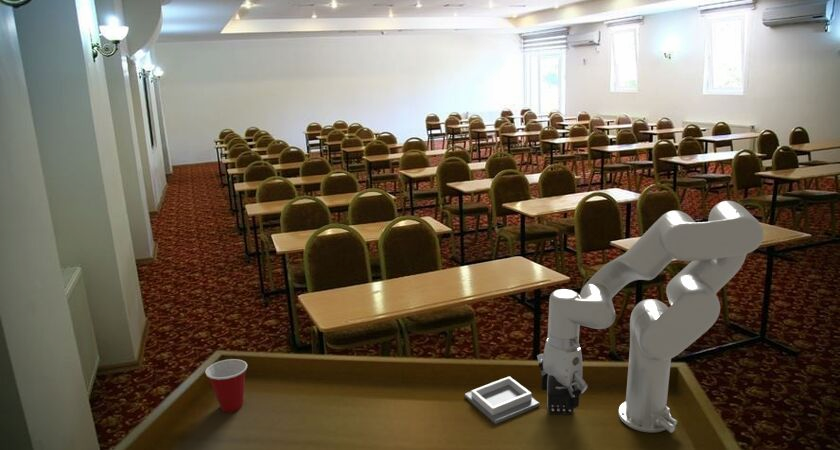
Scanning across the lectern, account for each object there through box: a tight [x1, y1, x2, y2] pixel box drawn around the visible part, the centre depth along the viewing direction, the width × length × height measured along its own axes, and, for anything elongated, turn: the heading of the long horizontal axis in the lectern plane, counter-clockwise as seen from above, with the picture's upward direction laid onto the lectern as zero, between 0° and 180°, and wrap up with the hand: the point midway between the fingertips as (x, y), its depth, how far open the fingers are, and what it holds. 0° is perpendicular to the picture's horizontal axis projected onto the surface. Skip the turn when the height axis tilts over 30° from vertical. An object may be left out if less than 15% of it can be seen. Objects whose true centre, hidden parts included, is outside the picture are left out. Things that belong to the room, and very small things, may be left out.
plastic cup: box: [205, 358, 248, 413], centre depth 167 cm, size 11×11×12 cm
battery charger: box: [546, 375, 576, 415], centre depth 158 cm, size 7×4×11 cm, turn 85°
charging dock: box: [464, 375, 540, 425], centre depth 165 cm, size 14×14×3 cm
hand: (559, 397), depth 159 cm, fingers open, 9 cm apart
